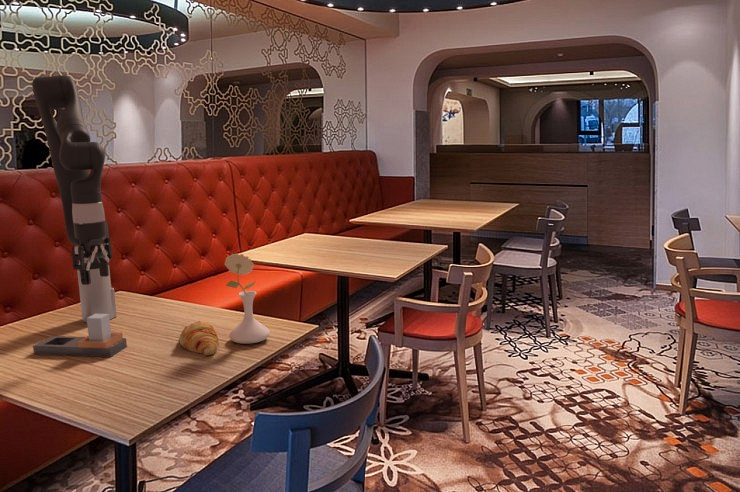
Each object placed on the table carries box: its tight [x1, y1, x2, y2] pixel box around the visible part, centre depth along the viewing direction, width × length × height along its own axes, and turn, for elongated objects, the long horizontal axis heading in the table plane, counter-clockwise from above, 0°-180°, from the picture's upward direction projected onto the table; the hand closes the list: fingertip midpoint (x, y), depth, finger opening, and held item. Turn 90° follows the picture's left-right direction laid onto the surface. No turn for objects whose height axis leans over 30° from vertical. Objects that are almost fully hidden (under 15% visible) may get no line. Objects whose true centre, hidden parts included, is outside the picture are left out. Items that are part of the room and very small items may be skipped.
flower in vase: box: [224, 252, 271, 345], centre depth 165 cm, size 13×11×25 cm
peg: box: [86, 314, 112, 341], centre depth 159 cm, size 4×4×10 cm
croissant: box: [178, 321, 219, 356], centre depth 162 cm, size 21×10×8 cm, turn 35°
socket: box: [32, 332, 128, 358], centre depth 160 cm, size 22×8×4 cm, turn 83°
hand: (95, 280), depth 156 cm, fingers open, 8 cm apart
